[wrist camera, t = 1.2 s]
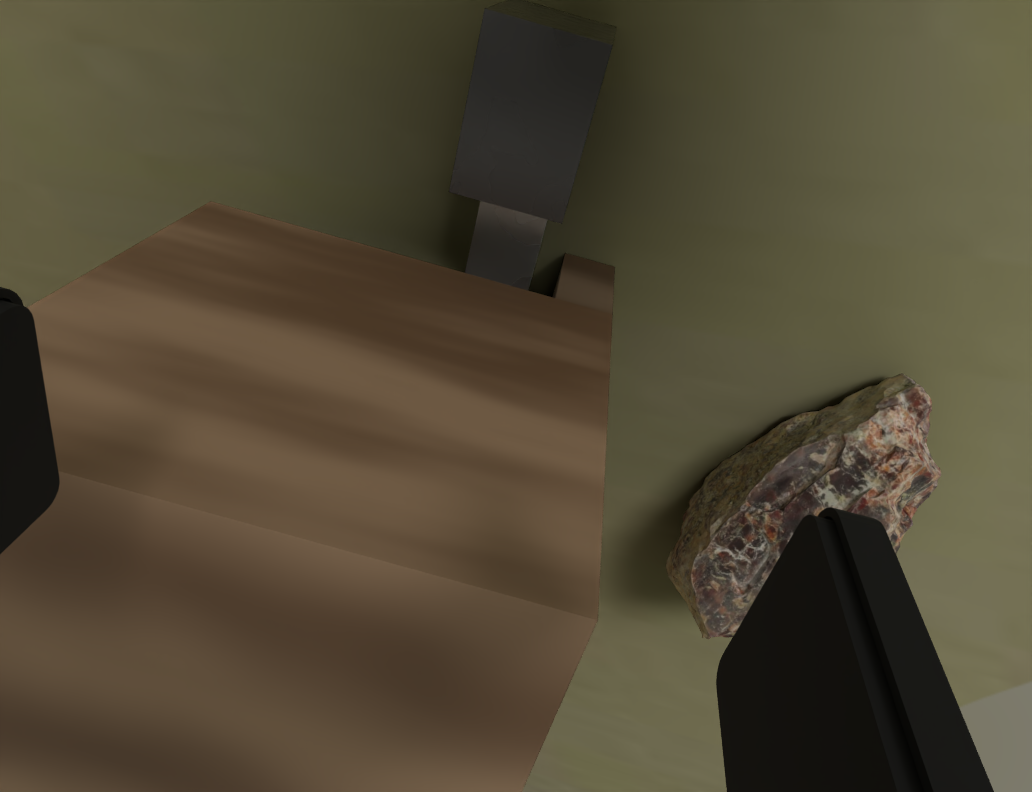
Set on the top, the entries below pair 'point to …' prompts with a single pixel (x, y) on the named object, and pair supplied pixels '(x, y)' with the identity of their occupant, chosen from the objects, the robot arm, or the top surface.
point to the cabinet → (305, 519)
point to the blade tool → (526, 130)
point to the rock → (801, 494)
